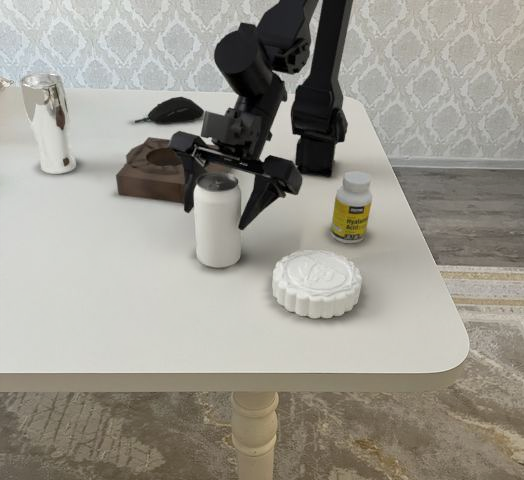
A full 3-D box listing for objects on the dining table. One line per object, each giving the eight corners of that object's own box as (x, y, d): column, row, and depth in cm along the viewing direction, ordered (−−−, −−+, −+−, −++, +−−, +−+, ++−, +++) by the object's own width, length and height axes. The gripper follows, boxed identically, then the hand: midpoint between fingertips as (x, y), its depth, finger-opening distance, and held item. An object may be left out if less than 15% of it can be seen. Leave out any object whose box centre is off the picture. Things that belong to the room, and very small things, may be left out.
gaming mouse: (131, 116, 124) (129, 97, 121) (198, 109, 129) (197, 90, 126) (138, 128, 120) (136, 108, 117) (207, 120, 124) (207, 100, 122)
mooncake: (253, 292, 81) (254, 270, 78) (308, 257, 87) (310, 236, 85) (323, 332, 75) (326, 310, 72) (376, 291, 82) (380, 270, 79)
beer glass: (68, 177, 103) (50, 88, 93) (31, 172, 104) (10, 84, 94) (85, 160, 108) (70, 74, 98) (49, 156, 109) (31, 70, 99)
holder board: (233, 165, 109) (233, 146, 107) (210, 207, 97) (209, 187, 95) (144, 154, 111) (142, 135, 109) (112, 193, 99) (109, 174, 97)
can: (246, 250, 88) (248, 175, 80) (231, 273, 84) (231, 196, 75) (206, 241, 90) (204, 166, 81) (189, 264, 85) (184, 187, 77)
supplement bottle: (342, 247, 90) (351, 188, 83) (323, 230, 93) (331, 172, 87) (371, 239, 92) (383, 181, 85) (352, 223, 95) (361, 165, 89)
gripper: (170, 68, 76) (127, 181, 77) (300, 98, 70) (253, 220, 70) (205, 111, 87) (167, 210, 87) (320, 140, 81) (279, 246, 81)
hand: (212, 220), depth 81 cm, fingers open, 8 cm apart
